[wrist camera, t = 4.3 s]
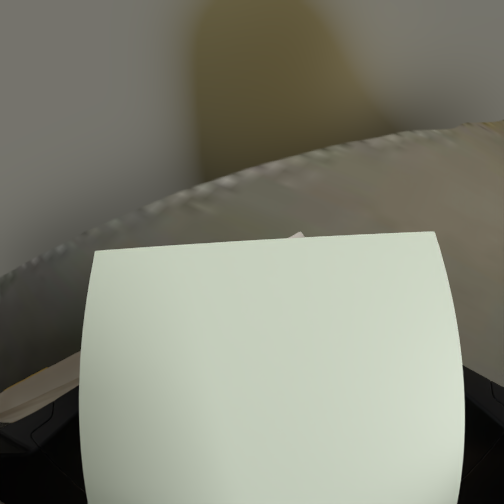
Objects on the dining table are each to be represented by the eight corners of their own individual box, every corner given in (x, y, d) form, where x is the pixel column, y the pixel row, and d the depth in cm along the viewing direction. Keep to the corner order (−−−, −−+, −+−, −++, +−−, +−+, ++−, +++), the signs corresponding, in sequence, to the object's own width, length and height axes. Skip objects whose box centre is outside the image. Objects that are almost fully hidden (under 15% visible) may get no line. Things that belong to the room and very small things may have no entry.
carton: (335, 447, 12) (447, 546, 2) (216, 452, 12) (101, 556, 2) (329, 333, 14) (431, 221, 4) (214, 340, 15) (97, 241, 5)
